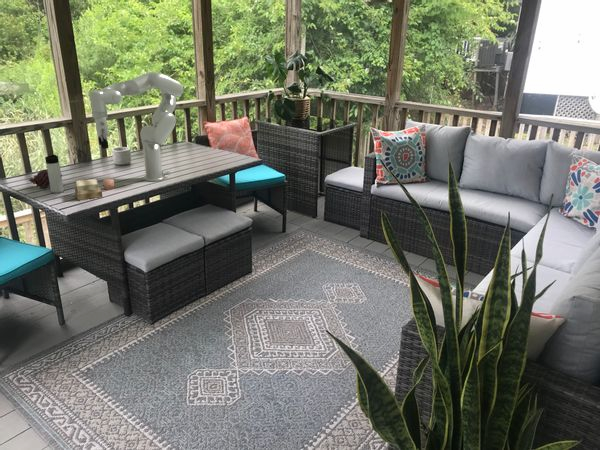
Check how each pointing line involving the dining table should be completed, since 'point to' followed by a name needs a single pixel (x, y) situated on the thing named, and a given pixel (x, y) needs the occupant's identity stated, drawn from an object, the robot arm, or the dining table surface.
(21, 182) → the dining table surface
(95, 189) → the maple top block
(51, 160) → the travel mug
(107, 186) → the terracotta round block
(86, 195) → the oak base block
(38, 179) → the pine cone
